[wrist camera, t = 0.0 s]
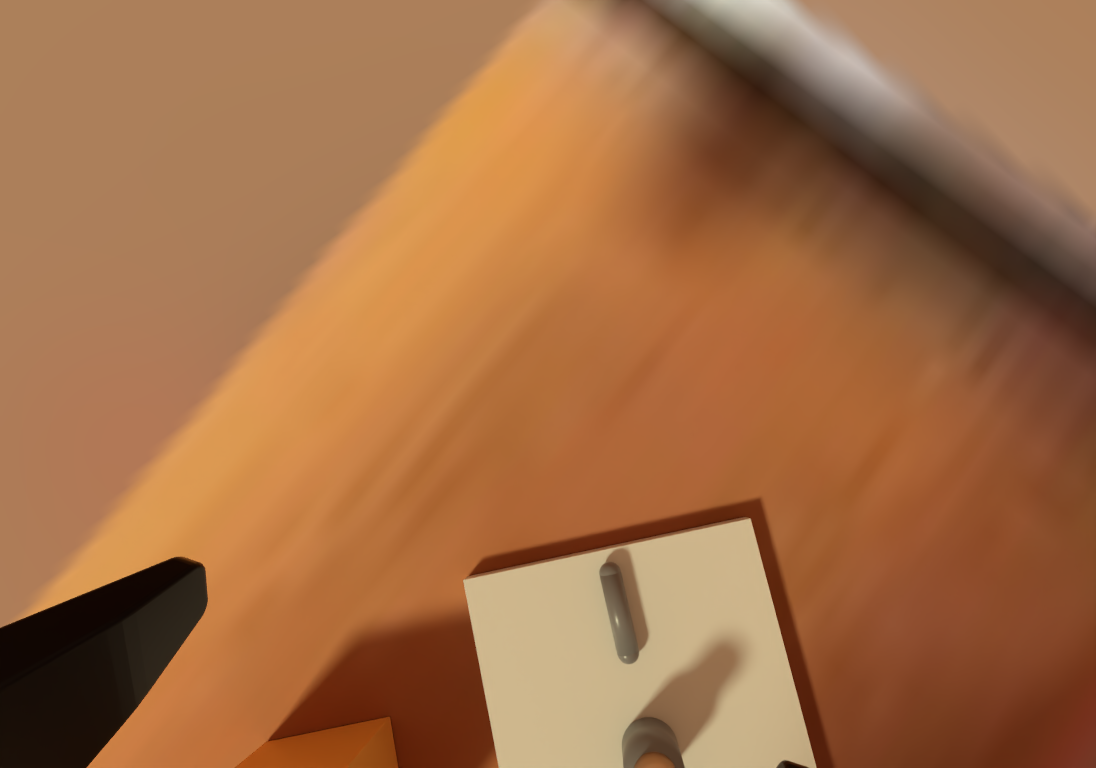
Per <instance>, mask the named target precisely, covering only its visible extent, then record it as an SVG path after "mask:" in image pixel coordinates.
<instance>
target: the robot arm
mask: <svg viewBox="0 0 1096 768" xmlns="http://www.w3.org/2000/svg"><path fill="white" fill-rule="evenodd" d="M207 602H208V596H207V584H206V571H205V567H204V566H203V564H201V563H200V562H197V561H194V560H191V559H188V558H185V557H174V558H171V559H169V560H166V561H164V562H161V563H159V564H156V565H154V566H151V567H149V568H146V569H144V570H141V571H139V572H137V573H134V574H132V575H129V576H127V577H124V578H122V579H119V580H117V581H114V582H112V583H109V584H107V585H105V586H102V587H100V588H97V589H95V590H92V591H90V592H87V593H85V594H82V595H80V596H77V597H75V598H73V599H70V600H68V601H65V602H63V603H60V604H58V605H55V606H53V607H50V608H48V609H45V610H43V611H41V612H38V613H36V614H33V615H31V616H28V617H26V618H23V619H21V620H18V621H16V622H13V623H11V624H9V625H6V626H4V627H1V628H0V768H86V767H87V766H88V765H89V764H90V763H91V762H92V760H93V759H94V758H95V757H96V756H97V755H98V753H99V752H100V751H101V750H102V749H103V747H104V746H105V745H106V744H107V743H108V742H109V740H110V739H111V738H112V737H113V736H114V735H115V733H116V732H117V731H118V730H119V729H120V727H121V726H122V725H123V724H124V723H125V722H126V720H127V719H128V718H129V717H130V715H131V714H132V713H133V712H134V711H135V709H136V708H137V707H138V705H139V704H140V703H141V701H142V700H143V699H144V697H145V696H146V695H147V693H148V692H149V691H150V689H151V688H152V686H153V685H154V684H155V682H156V681H157V679H158V678H159V677H160V675H161V674H162V672H163V671H164V669H165V668H166V667H167V665H168V664H169V662H170V661H171V660H172V658H173V657H174V655H175V654H176V652H177V651H178V650H179V648H180V647H181V645H182V644H183V643H184V641H185V640H186V638H187V637H188V636H189V634H190V633H191V631H192V630H193V628H194V627H195V626H196V624H197V623H198V621H199V620H200V619H201V617H202V615H203V614H204V612H205V609H206V607H207ZM776 768H808V767H806V766H803V765H800V764H797V763H794V762H791V761H788V760H783V761H781V762H780V763H779V764H778V766H777V767H776Z"/></svg>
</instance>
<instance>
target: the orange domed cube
mask: <svg viewBox="0 0 1096 768" xmlns="http://www.w3.org/2000/svg"><path fill="white" fill-rule="evenodd" d="M235 768H398V762H397V756H396V750H395V744H394V738H393V732H392V726H391V720H390V717H385V718H380V719H376V720H371V721H366V722H361V723H356V724H351V725H346V726H341V727H336V728H331V729H327V730H322V731H317V732H312V733H307V734H302V735H297V736H292V737H287V738H283V739H278V740H273V741H268V742H265V743H264V744H263V745H262V746H261V747H259V748H258V749H257V750H256V751H255V752H253V753H252V754H251V755H250V756H248V757H247V758H246V759H245V760H244V761H242V762H241V763H240V764H239V765H237V766H236V767H235Z"/></svg>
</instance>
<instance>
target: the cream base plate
mask: <svg viewBox="0 0 1096 768" xmlns="http://www.w3.org/2000/svg"><path fill="white" fill-rule="evenodd" d="M463 582H464V587H465V592H466V597H467V603H468V608H469V613H470V618H471V624H472V629H473V634H474V639H475V645H476V650H477V655H478V660H479V666H480V671H481V676H482V682H483V687H484V692H485V697H486V703H487V708H488V713H489V718H490V724H491V729H492V734H493V739H494V745H495V750H496V755H497V760H498V766H499V768H776V767H777V766H778V764H779V763H780V762H781V761H783V760H788V761H791V762H794V763H797V764H800V765H803V766H806V767H808V768H817V767H816V764H815V760H814V756H813V752H812V749H811V745H810V741H809V737H808V733H807V730H806V726H805V722H804V718H803V715H802V711H801V707H800V703H799V700H798V696H797V692H796V688H795V684H794V681H793V677H792V673H791V669H790V666H789V662H788V658H787V654H786V650H785V647H784V643H783V639H782V635H781V632H780V628H779V624H778V620H777V617H776V613H775V609H774V605H773V601H772V598H771V594H770V590H769V586H768V583H767V579H766V575H765V571H764V568H763V564H762V560H761V556H760V552H759V549H758V545H757V541H756V537H755V534H754V530H753V526H752V522H751V518H748V517H742V518H737V519H732V520H728V521H723V522H718V523H714V524H709V525H705V526H700V527H695V528H691V529H686V530H681V531H677V532H672V533H667V534H663V535H658V536H653V537H649V538H644V539H639V540H635V541H630V542H625V543H621V544H616V545H611V546H607V547H602V548H597V549H593V550H588V551H584V552H579V553H574V554H570V555H565V556H560V557H556V558H551V559H546V560H542V561H537V562H532V563H528V564H523V565H518V566H514V567H509V568H504V569H500V570H495V571H490V572H486V573H481V574H476V575H472V576H468V577H466V578H465V579H464V580H463Z"/></svg>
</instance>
